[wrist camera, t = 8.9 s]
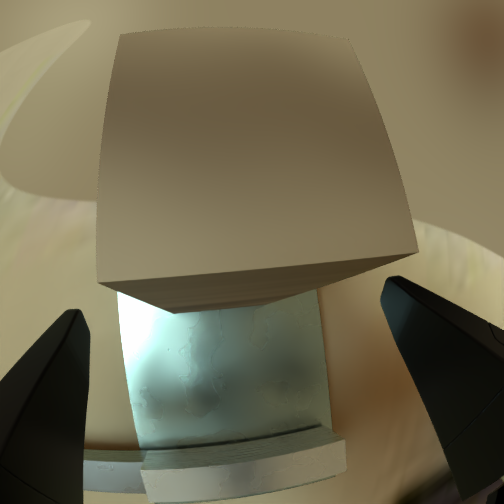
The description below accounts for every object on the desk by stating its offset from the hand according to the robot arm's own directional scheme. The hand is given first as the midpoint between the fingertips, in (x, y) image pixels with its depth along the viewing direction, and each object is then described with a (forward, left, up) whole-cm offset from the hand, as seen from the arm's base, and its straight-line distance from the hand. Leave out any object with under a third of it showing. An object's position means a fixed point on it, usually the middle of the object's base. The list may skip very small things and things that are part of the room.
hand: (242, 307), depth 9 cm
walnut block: (+3, 0, -9) cm, 9 cm away
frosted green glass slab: (-1, 0, -10) cm, 10 cm away
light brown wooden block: (-8, +5, -8) cm, 13 cm away
